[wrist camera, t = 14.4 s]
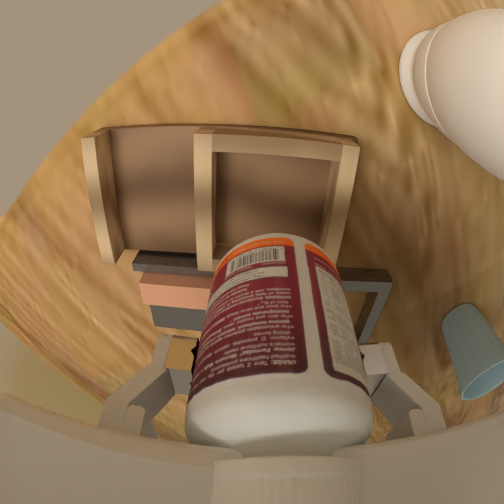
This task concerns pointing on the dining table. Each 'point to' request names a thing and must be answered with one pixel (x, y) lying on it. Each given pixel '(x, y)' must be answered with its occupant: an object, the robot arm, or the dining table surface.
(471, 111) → the jar
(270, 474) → the pill bottle
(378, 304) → the socket collar
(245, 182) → the rack
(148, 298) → the pink rectangular block
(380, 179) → the dining table surface
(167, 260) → the grey metal lipped plate
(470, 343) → the cup
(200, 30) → the dining table surface
